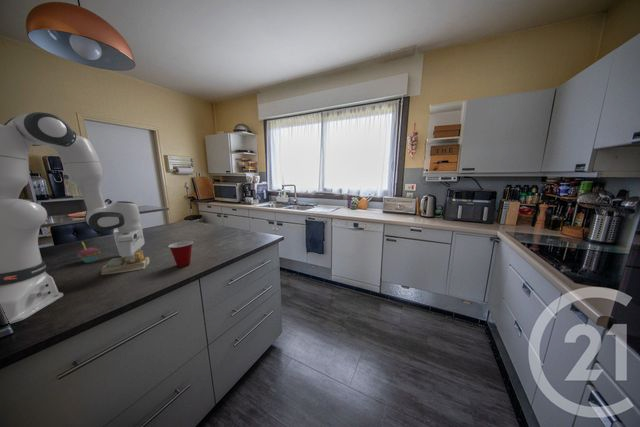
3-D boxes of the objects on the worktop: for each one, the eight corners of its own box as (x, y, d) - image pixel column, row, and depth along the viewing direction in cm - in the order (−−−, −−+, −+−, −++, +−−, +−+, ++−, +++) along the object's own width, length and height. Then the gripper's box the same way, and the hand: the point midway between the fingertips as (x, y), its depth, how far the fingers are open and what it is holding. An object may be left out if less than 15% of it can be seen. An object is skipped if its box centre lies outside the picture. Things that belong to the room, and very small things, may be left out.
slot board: (143, 268, 105) (142, 259, 104) (101, 275, 98) (99, 265, 98) (150, 261, 114) (148, 252, 113) (111, 266, 107) (110, 257, 106)
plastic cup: (189, 258, 118) (187, 238, 115) (199, 263, 112) (196, 242, 109) (167, 265, 109) (164, 243, 107) (176, 271, 103) (173, 248, 101)
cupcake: (89, 264, 110) (84, 242, 108) (73, 264, 110) (68, 242, 108) (106, 257, 118) (102, 237, 116) (91, 257, 119) (87, 237, 116)
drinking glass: (123, 257, 119) (119, 232, 116) (114, 256, 120) (109, 231, 117) (136, 253, 125) (132, 229, 122) (127, 252, 127) (123, 228, 124)
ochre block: (140, 262, 106) (139, 253, 105) (127, 264, 104) (126, 255, 103) (143, 259, 111) (142, 250, 110) (131, 260, 109) (130, 251, 108)
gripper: (131, 228, 112) (135, 252, 115) (113, 239, 94) (118, 268, 97) (145, 227, 115) (149, 251, 118) (131, 237, 97) (135, 265, 99)
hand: (135, 258), depth 107 cm, fingers closed on ochre block, 5 cm apart
